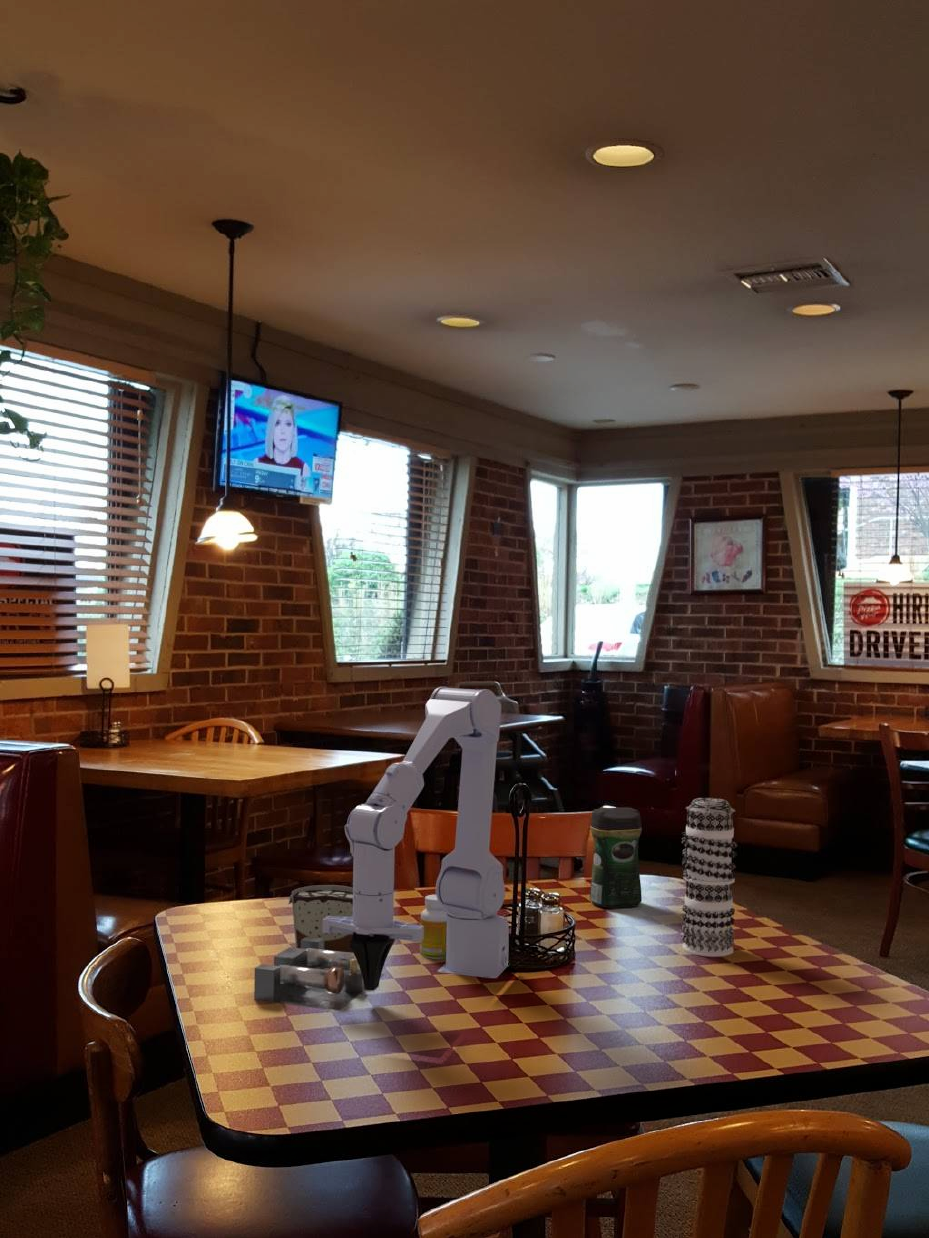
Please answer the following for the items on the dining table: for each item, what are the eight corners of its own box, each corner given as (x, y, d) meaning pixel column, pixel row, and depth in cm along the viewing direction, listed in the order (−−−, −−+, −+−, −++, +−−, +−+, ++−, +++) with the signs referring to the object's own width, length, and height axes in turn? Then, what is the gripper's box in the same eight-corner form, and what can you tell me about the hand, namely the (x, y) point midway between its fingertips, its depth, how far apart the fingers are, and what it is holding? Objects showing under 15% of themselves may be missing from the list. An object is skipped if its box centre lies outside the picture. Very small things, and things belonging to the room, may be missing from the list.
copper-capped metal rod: (344, 989, 166) (344, 964, 166) (333, 997, 163) (334, 971, 163) (285, 982, 169) (285, 958, 169) (274, 990, 166) (274, 965, 166)
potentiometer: (364, 988, 170) (365, 958, 170) (358, 993, 167) (358, 963, 167) (348, 986, 170) (348, 956, 170) (341, 991, 168) (341, 961, 168)
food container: (369, 945, 194) (370, 885, 193) (362, 956, 187) (363, 894, 187) (296, 942, 195) (297, 882, 195) (287, 953, 189) (288, 891, 189)
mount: (384, 978, 176) (384, 945, 176) (339, 1014, 160) (339, 977, 160) (305, 968, 180) (306, 936, 180) (254, 1003, 164) (254, 968, 164)
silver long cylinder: (367, 971, 175) (368, 947, 175) (358, 978, 171) (358, 954, 171) (311, 965, 178) (312, 941, 178) (301, 972, 174) (302, 948, 174)
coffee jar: (629, 897, 229) (630, 803, 229) (646, 907, 222) (648, 810, 222) (583, 900, 227) (585, 805, 227) (599, 910, 219) (601, 812, 219)
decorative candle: (668, 948, 195) (670, 798, 195) (702, 938, 201) (704, 793, 201) (713, 960, 188) (715, 806, 188) (746, 950, 194) (749, 800, 194)
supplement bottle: (449, 963, 184) (450, 902, 184) (416, 960, 186) (417, 899, 185) (456, 953, 190) (457, 894, 190) (424, 951, 191) (425, 892, 191)
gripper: (314, 892, 161) (312, 990, 161) (412, 902, 157) (410, 1002, 157) (334, 882, 168) (332, 976, 168) (429, 890, 164) (427, 987, 164)
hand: (371, 988), depth 163 cm, fingers closed
